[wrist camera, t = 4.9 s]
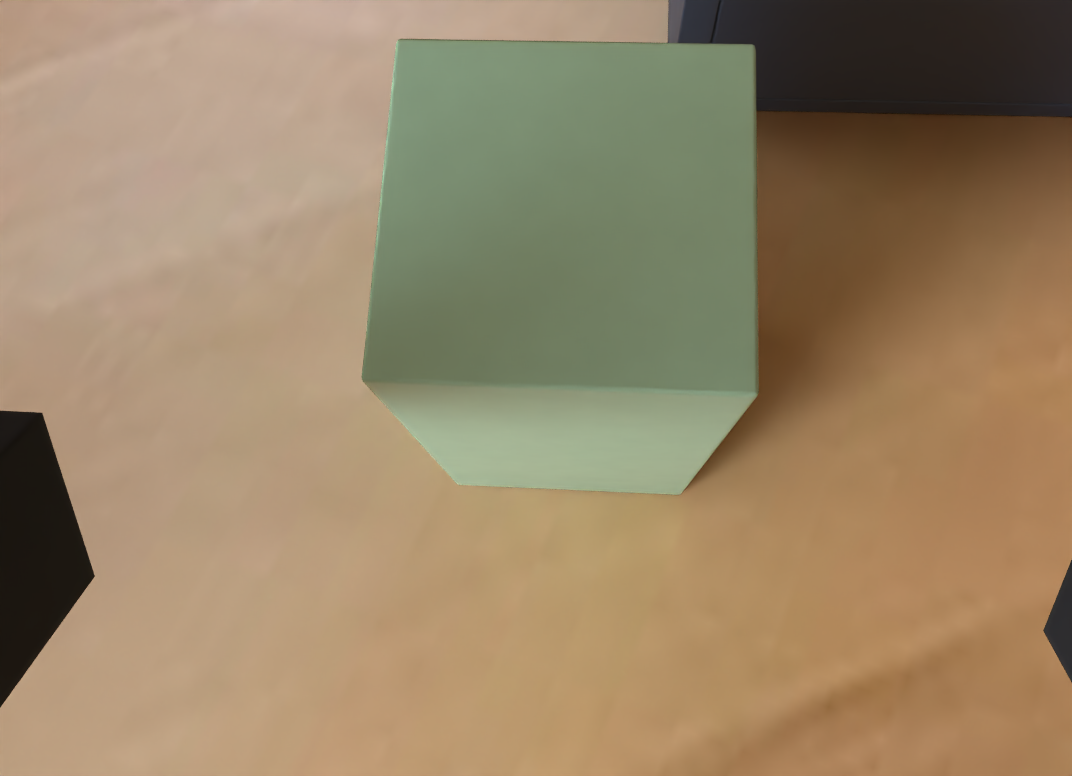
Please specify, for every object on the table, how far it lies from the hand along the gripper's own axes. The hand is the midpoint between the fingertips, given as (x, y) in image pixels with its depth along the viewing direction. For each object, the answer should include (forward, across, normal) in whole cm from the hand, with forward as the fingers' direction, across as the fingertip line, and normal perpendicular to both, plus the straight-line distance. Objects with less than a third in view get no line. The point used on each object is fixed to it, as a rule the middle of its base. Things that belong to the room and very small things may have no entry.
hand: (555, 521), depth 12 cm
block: (+11, 0, -4) cm, 11 cm away
